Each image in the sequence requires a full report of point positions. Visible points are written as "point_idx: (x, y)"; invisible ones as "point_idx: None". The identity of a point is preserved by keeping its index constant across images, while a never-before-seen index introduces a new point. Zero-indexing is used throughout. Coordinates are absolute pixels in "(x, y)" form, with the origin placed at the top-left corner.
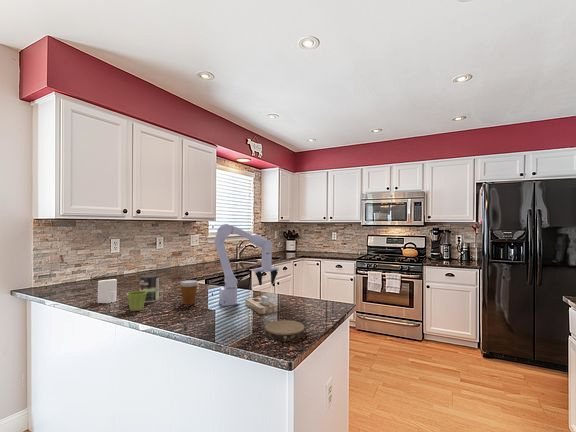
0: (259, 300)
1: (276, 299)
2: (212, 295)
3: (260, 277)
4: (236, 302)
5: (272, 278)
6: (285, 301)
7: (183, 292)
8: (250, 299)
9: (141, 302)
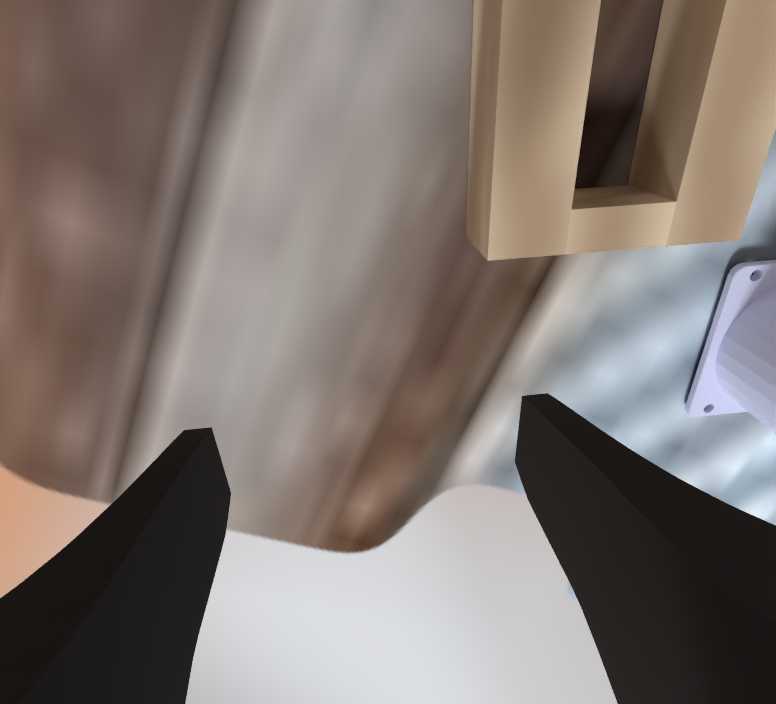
0: (578, 102)
1: (191, 312)
2: None
3: (724, 524)
4: (761, 299)
5: (170, 576)
6: (65, 140)
7: None
8: (698, 183)
9: None
